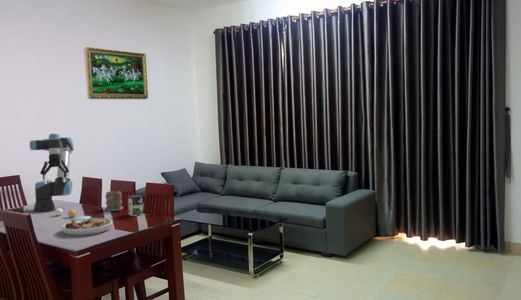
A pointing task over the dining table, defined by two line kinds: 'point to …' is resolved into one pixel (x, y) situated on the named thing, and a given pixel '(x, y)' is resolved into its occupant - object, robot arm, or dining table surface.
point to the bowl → (86, 226)
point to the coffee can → (135, 205)
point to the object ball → (71, 213)
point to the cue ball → (59, 211)
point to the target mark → (80, 217)
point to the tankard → (113, 201)
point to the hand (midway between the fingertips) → (54, 182)
